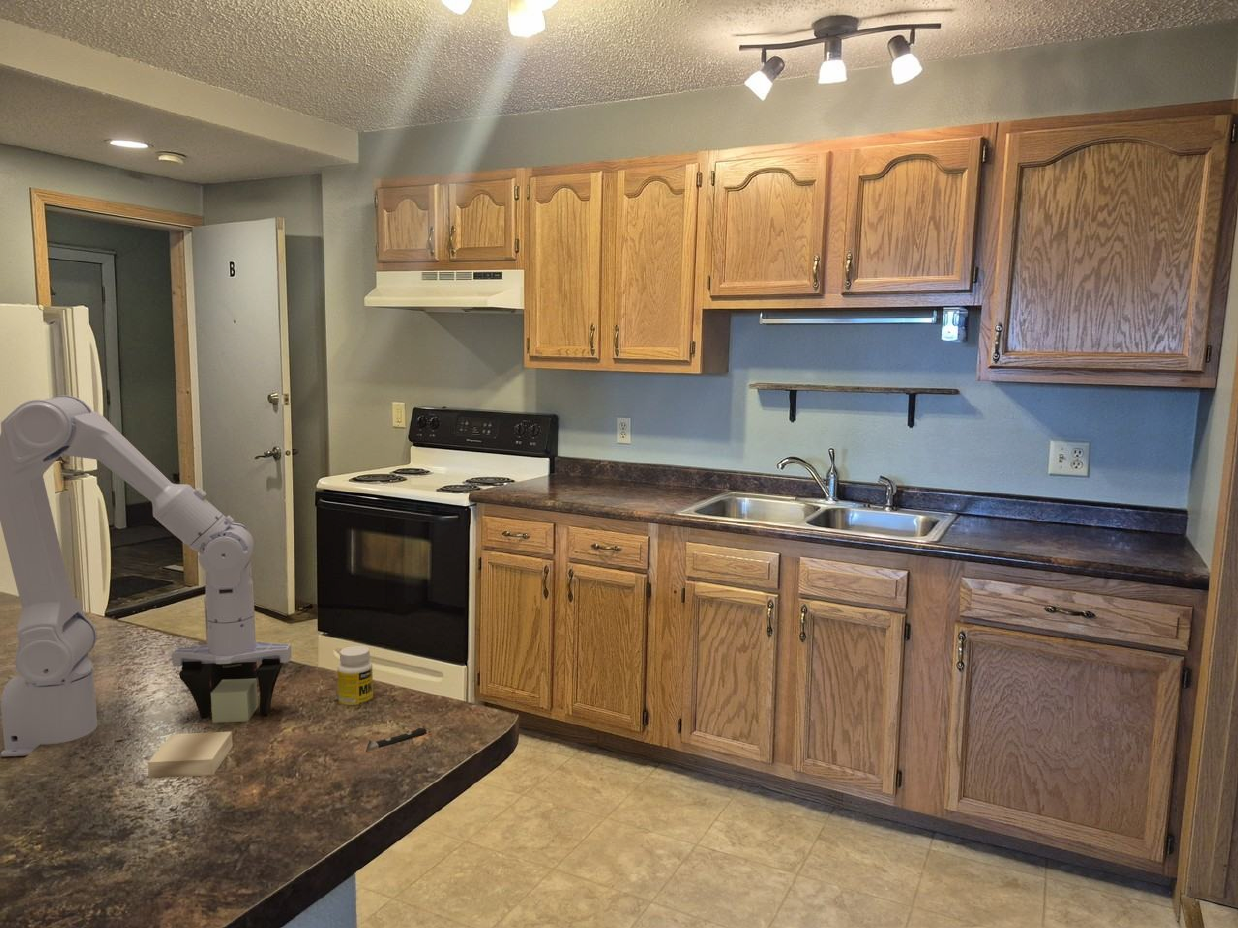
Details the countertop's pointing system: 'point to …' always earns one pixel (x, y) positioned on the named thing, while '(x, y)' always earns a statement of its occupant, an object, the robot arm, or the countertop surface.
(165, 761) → the tan square tile
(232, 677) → the beverage can
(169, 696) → the countertop surface
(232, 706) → the green block
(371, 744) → the chef's knife
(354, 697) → the supplement bottle
